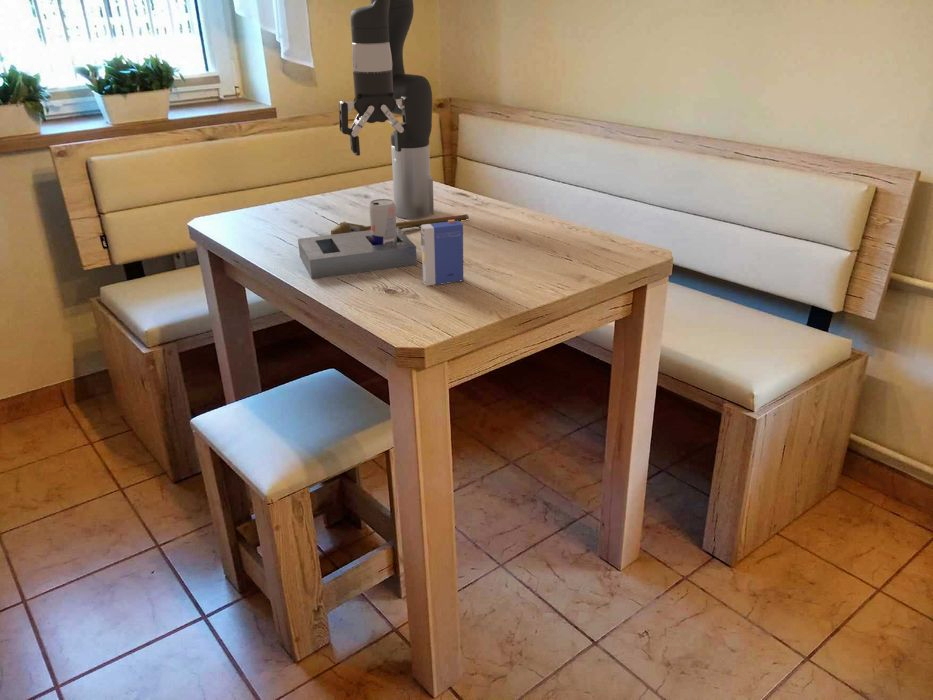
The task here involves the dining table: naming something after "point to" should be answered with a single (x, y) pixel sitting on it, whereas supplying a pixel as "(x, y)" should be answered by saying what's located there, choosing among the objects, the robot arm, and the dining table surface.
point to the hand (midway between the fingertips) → (377, 152)
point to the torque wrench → (350, 227)
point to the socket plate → (353, 253)
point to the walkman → (442, 252)
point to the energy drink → (383, 221)
